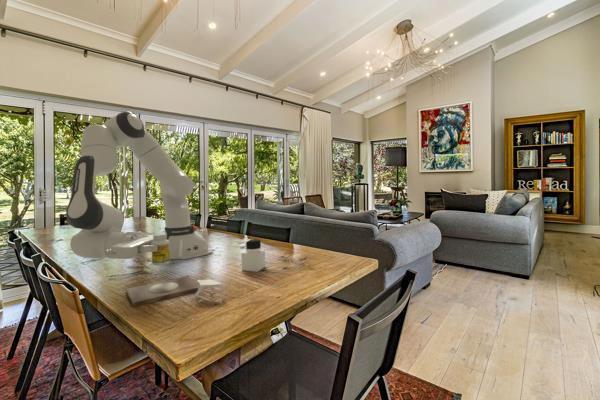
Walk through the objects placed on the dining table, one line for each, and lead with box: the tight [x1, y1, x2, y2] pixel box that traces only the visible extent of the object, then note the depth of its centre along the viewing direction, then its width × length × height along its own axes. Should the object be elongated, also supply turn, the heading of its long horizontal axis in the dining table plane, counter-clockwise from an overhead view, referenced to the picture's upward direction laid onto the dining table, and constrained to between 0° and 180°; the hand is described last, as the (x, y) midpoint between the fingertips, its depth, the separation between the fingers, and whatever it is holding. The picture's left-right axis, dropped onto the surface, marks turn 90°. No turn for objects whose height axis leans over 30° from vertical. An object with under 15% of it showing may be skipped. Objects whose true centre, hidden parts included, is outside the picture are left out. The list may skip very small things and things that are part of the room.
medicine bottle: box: [241, 238, 266, 273], centre depth 124 cm, size 7×7×12 cm
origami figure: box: [194, 279, 227, 303], centre depth 95 cm, size 12×8×5 cm
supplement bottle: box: [151, 232, 171, 266], centre depth 100 cm, size 5×5×10 cm
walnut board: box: [125, 275, 200, 307], centre depth 101 cm, size 20×14×1 cm
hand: (163, 245), depth 100 cm, fingers closed on supplement bottle, 5 cm apart
